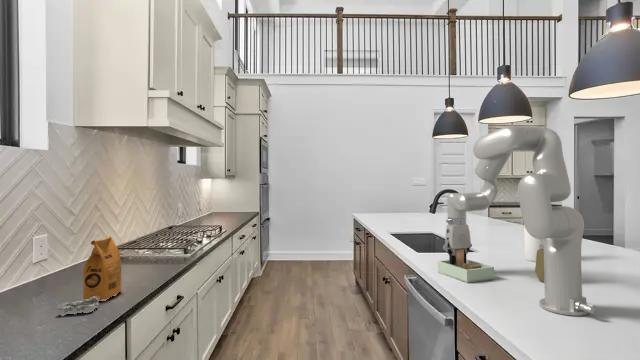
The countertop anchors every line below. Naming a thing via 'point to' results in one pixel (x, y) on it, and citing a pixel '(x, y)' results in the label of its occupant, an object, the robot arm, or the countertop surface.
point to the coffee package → (102, 270)
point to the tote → (466, 272)
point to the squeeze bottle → (540, 262)
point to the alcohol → (531, 246)
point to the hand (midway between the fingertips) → (458, 263)
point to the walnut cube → (471, 266)
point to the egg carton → (79, 305)
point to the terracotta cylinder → (459, 257)
